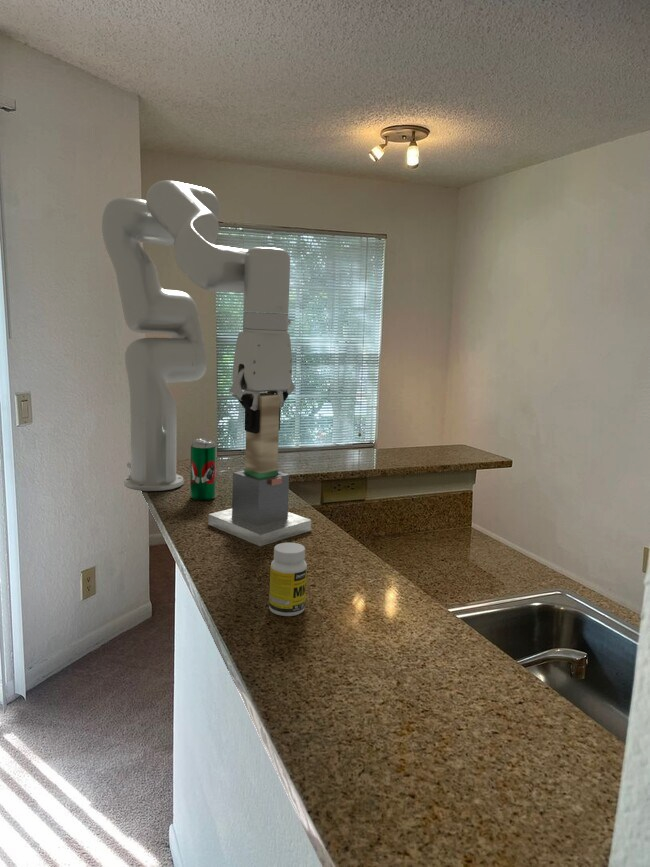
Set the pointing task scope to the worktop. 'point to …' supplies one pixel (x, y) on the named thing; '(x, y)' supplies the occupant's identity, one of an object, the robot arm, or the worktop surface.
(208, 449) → the soda can
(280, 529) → the stand base
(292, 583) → the supplement bottle
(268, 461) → the column
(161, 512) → the worktop surface
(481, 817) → the worktop surface
